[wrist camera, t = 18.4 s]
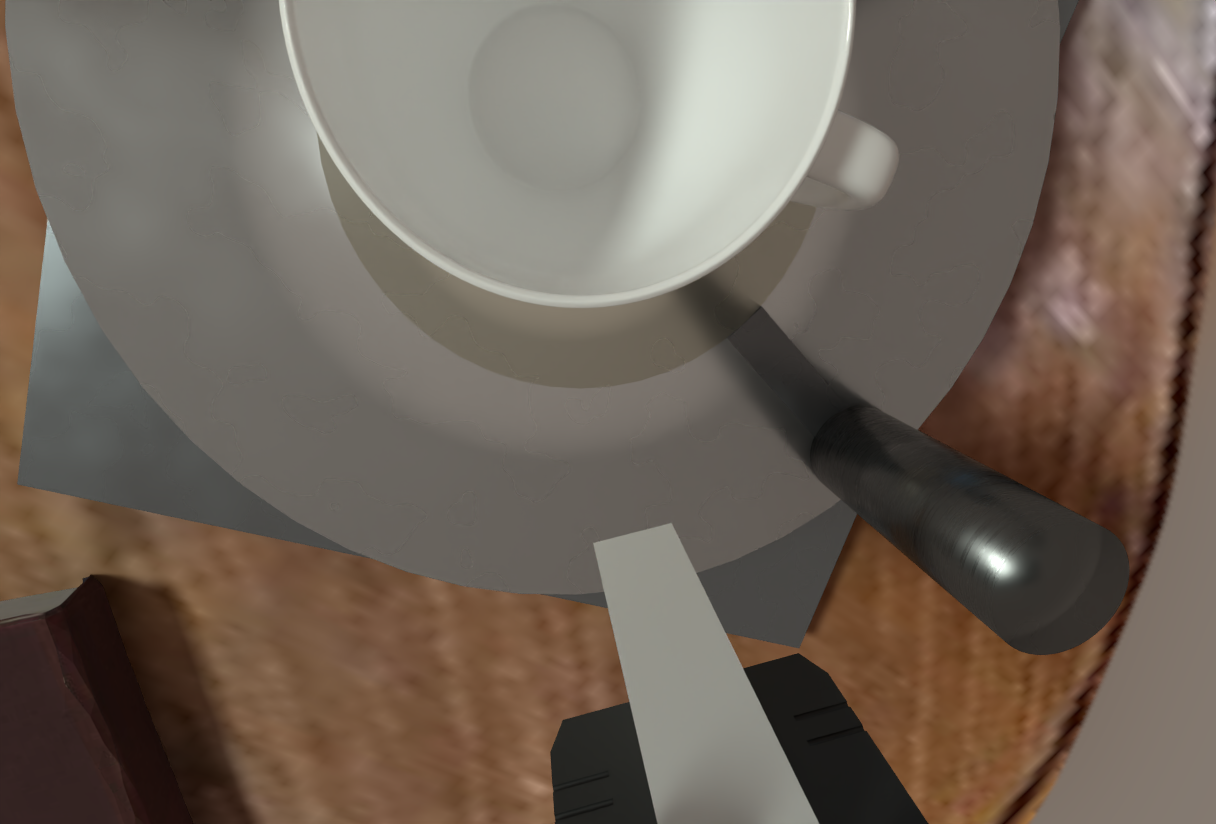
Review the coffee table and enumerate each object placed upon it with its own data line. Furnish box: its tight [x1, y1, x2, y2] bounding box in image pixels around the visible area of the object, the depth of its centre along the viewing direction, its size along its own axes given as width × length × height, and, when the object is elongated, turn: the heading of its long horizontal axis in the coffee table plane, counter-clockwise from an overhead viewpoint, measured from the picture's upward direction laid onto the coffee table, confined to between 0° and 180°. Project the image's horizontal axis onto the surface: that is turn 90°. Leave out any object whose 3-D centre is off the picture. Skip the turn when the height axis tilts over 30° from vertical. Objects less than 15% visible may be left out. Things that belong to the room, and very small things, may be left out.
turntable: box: [5, 0, 1129, 655], centre depth 13 cm, size 24×24×10 cm
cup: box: [279, 0, 900, 308], centre depth 12 cm, size 8×10×7 cm
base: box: [17, 0, 1079, 648], centre depth 13 cm, size 26×24×12 cm
